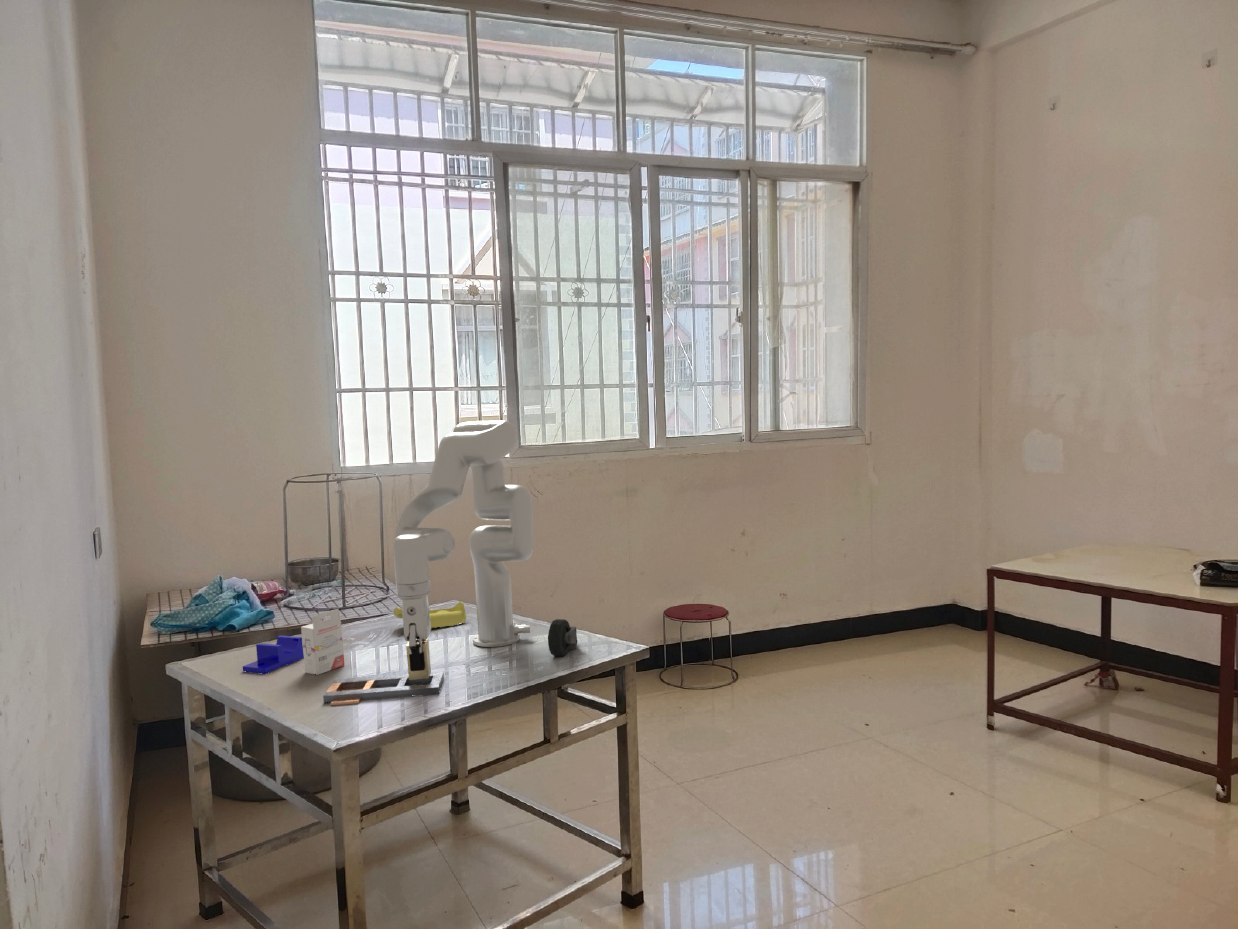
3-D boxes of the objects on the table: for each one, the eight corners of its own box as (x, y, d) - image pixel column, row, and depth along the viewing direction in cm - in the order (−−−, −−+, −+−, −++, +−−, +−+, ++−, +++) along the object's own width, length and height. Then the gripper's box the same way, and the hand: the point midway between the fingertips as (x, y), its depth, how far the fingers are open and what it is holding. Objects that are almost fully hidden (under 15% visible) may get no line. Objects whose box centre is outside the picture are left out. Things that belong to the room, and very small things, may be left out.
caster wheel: (565, 664, 207) (584, 641, 222) (562, 627, 206) (581, 606, 220) (544, 663, 209) (564, 640, 223) (541, 626, 207) (561, 605, 222)
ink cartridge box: (332, 663, 214) (327, 606, 213) (345, 665, 212) (341, 608, 210) (303, 673, 207) (299, 614, 206) (316, 675, 204) (312, 616, 203)
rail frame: (444, 678, 198) (443, 671, 198) (437, 697, 185) (437, 690, 185) (335, 686, 195) (335, 679, 195) (321, 706, 183) (320, 699, 182)
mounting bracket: (295, 652, 227) (293, 630, 226) (316, 654, 224) (314, 632, 224) (243, 673, 210) (241, 650, 210) (265, 675, 207) (263, 652, 207)
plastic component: (453, 608, 257) (464, 599, 249) (457, 632, 254) (467, 624, 246) (389, 614, 247) (397, 605, 239) (391, 639, 244) (400, 631, 236)
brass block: (430, 672, 195) (428, 638, 194) (428, 678, 190) (425, 644, 190) (411, 673, 194) (409, 640, 193) (408, 680, 190) (406, 645, 189)
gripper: (425, 596, 182) (431, 677, 184) (434, 579, 199) (439, 653, 201) (390, 599, 182) (396, 680, 183) (402, 581, 198) (408, 656, 200)
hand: (419, 665), depth 192 cm, fingers closed on brass block, 4 cm apart
